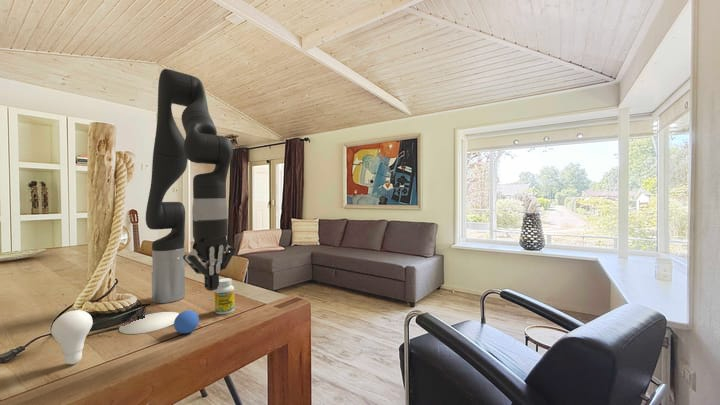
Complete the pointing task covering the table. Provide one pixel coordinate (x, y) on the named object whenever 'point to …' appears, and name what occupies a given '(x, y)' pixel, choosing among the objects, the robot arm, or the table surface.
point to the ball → (186, 322)
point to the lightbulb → (72, 333)
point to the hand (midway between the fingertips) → (211, 289)
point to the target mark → (150, 323)
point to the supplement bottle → (224, 297)
